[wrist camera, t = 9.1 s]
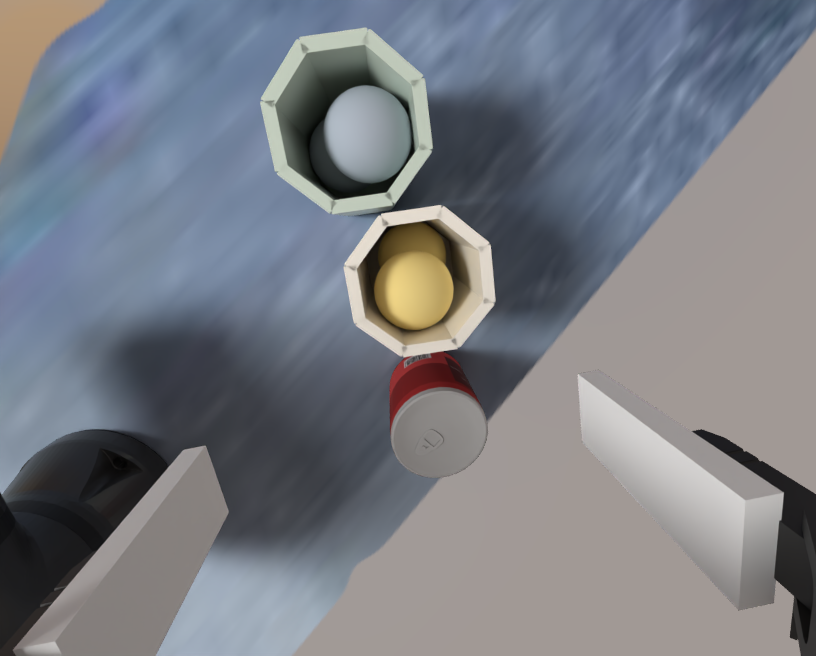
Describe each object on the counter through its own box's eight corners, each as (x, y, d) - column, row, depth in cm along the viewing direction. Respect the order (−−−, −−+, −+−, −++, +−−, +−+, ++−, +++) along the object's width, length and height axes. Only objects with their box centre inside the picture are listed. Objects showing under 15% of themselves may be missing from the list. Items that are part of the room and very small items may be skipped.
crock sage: (319, 220, 37) (285, 221, 25) (297, 107, 35) (247, 44, 22) (420, 205, 37) (438, 198, 25) (406, 92, 35) (417, 20, 22)
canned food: (376, 398, 42) (373, 457, 32) (412, 333, 41) (421, 373, 30) (439, 427, 44) (456, 493, 33) (476, 365, 42) (507, 415, 31)
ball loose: (384, 273, 34) (381, 340, 33) (367, 237, 29) (362, 315, 27) (454, 270, 34) (455, 338, 32) (451, 232, 28) (452, 313, 26)
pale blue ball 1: (337, 198, 37) (303, 197, 32) (324, 128, 36) (287, 114, 30) (397, 187, 35) (373, 185, 30) (387, 113, 34) (359, 96, 28)
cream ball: (383, 300, 38) (383, 289, 32) (374, 238, 38) (371, 216, 32) (446, 290, 38) (457, 277, 32) (435, 229, 39) (444, 206, 33)
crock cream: (368, 318, 40) (361, 363, 27) (351, 220, 37) (335, 220, 25) (463, 304, 40) (499, 342, 28) (453, 205, 38) (486, 198, 25)
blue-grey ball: (315, 191, 28) (376, 175, 24) (296, 95, 26) (359, 62, 22) (373, 188, 32) (434, 174, 28) (361, 105, 31) (423, 79, 27)
